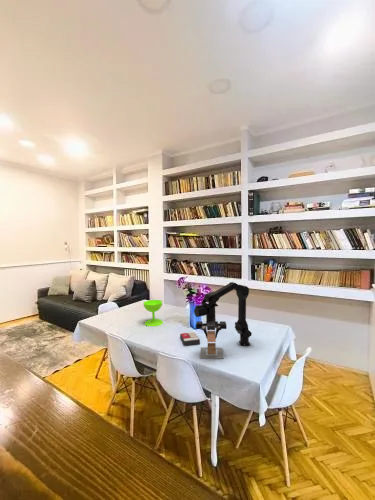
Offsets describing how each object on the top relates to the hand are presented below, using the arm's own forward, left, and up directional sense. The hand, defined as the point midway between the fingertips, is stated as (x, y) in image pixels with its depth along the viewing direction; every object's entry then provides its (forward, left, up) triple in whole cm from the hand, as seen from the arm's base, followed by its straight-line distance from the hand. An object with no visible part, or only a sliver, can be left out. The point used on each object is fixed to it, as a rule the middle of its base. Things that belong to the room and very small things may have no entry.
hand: (211, 338), depth 155 cm
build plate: (0, 0, -9) cm, 9 cm away
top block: (0, 0, -1) cm, 1 cm away
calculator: (-18, -15, -10) cm, 25 cm away
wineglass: (-52, -49, -10) cm, 72 cm away
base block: (0, 0, -9) cm, 9 cm away
